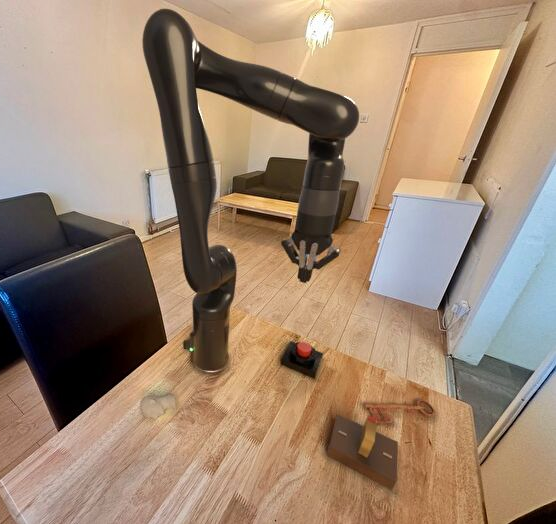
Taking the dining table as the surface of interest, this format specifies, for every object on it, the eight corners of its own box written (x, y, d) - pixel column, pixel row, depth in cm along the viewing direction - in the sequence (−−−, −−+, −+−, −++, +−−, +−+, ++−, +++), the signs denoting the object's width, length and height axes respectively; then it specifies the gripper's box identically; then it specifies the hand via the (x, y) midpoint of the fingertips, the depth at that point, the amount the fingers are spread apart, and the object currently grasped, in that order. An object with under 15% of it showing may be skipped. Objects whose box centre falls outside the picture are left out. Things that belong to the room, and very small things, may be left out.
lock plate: (326, 455, 56) (330, 445, 54) (334, 422, 62) (337, 413, 60) (391, 490, 50) (397, 480, 49) (393, 450, 56) (398, 441, 55)
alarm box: (280, 364, 76) (282, 353, 74) (289, 346, 82) (291, 335, 80) (314, 379, 72) (317, 367, 70) (321, 359, 78) (324, 348, 76)
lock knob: (367, 457, 52) (375, 440, 50) (357, 452, 53) (365, 435, 51) (370, 435, 56) (377, 418, 54) (361, 430, 57) (368, 413, 55)
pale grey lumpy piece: (140, 423, 63) (142, 399, 66) (176, 420, 63) (177, 396, 67) (137, 416, 60) (139, 391, 63) (175, 414, 60) (175, 389, 64)
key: (371, 423, 62) (443, 426, 61) (372, 420, 61) (445, 424, 61) (360, 398, 67) (426, 401, 66) (361, 396, 66) (428, 398, 65)
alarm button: (294, 353, 75) (295, 348, 74) (298, 345, 78) (299, 340, 77) (308, 358, 73) (309, 353, 72) (312, 350, 76) (313, 345, 75)
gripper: (279, 208, 59) (270, 280, 67) (348, 219, 53) (330, 297, 61) (290, 200, 65) (281, 267, 72) (354, 209, 58) (336, 282, 66)
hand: (303, 281), depth 66 cm, fingers closed
